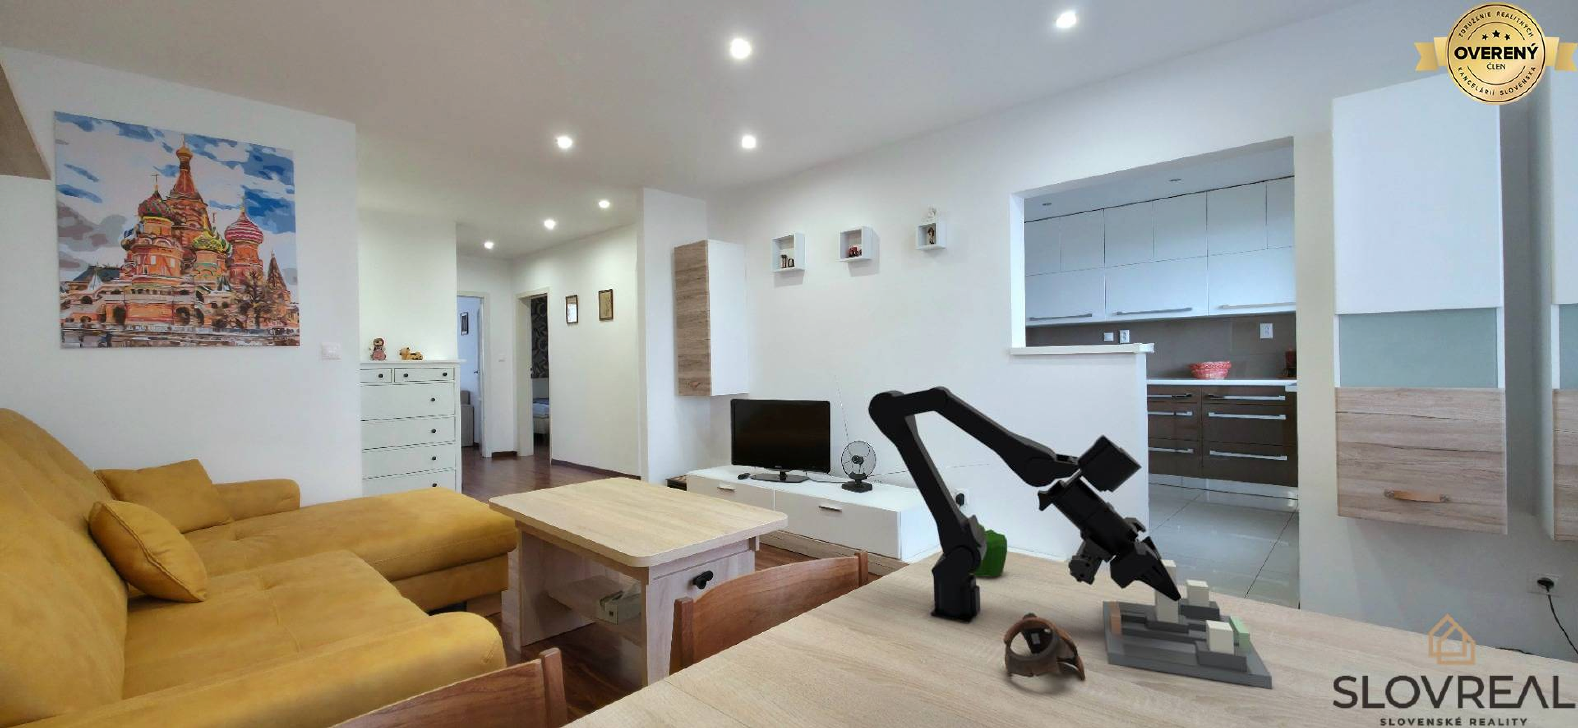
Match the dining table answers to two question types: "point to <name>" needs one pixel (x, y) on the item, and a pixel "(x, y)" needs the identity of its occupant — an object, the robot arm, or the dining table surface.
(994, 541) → the bell pepper
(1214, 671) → the board
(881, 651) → the dining table surface
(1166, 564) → the breaker handle
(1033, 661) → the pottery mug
